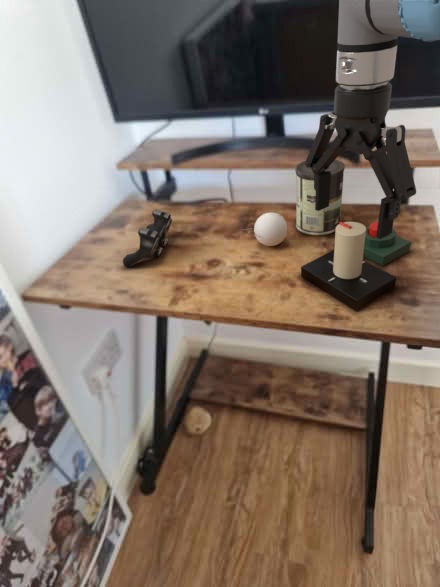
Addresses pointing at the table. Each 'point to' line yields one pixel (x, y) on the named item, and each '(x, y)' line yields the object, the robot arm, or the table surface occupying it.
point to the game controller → (150, 238)
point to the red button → (373, 229)
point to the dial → (349, 249)
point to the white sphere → (270, 229)
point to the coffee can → (305, 200)
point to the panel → (348, 282)
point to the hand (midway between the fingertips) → (350, 220)
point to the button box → (385, 247)
